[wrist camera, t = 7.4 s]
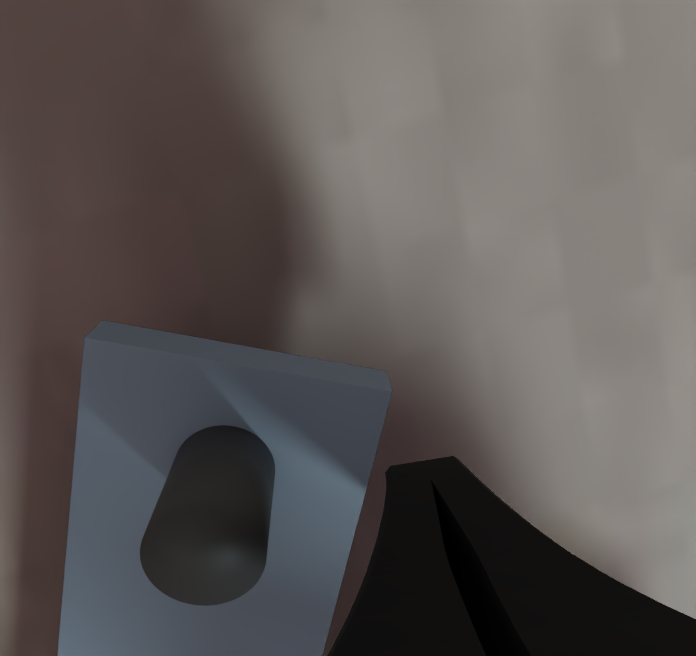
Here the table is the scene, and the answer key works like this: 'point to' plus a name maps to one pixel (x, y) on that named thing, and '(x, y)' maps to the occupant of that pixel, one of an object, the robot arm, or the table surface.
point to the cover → (212, 495)
